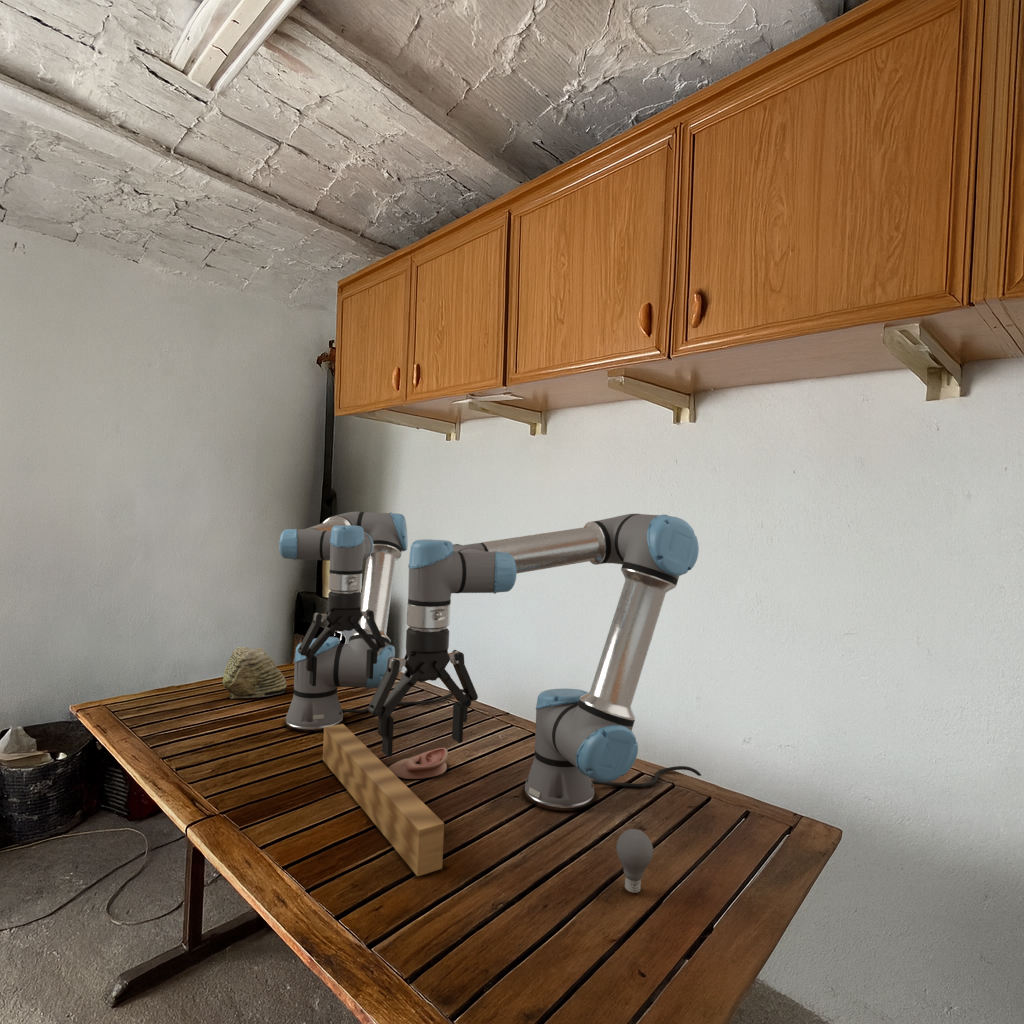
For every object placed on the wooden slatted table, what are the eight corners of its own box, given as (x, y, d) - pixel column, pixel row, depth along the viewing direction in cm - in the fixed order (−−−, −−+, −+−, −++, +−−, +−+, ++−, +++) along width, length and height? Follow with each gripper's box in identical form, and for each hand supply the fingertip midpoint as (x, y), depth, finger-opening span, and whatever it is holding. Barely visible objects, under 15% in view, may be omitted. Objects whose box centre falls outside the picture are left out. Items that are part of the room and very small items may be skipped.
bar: (322, 760, 152) (323, 726, 152) (341, 756, 155) (343, 723, 155) (417, 876, 107) (419, 830, 107) (442, 868, 110) (444, 823, 110)
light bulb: (610, 879, 108) (613, 822, 108) (644, 879, 109) (647, 822, 109) (619, 902, 102) (622, 840, 102) (655, 901, 103) (658, 840, 103)
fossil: (218, 695, 195) (220, 647, 195) (278, 685, 208) (279, 640, 207) (228, 703, 189) (230, 653, 188) (289, 692, 201) (290, 645, 201)
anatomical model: (382, 758, 144) (400, 740, 156) (381, 775, 145) (400, 756, 156) (437, 765, 142) (452, 746, 153) (436, 783, 142) (451, 763, 153)
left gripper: (295, 595, 139) (291, 692, 139) (401, 591, 152) (397, 678, 153) (286, 591, 145) (283, 683, 145) (389, 586, 159) (385, 670, 159)
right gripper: (367, 637, 102) (362, 768, 102) (499, 626, 115) (494, 741, 116) (352, 628, 108) (347, 752, 108) (478, 618, 122) (473, 728, 122)
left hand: (341, 681), depth 149 cm, fingers open, 13 cm apart
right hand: (423, 747), depth 112 cm, fingers open, 13 cm apart
